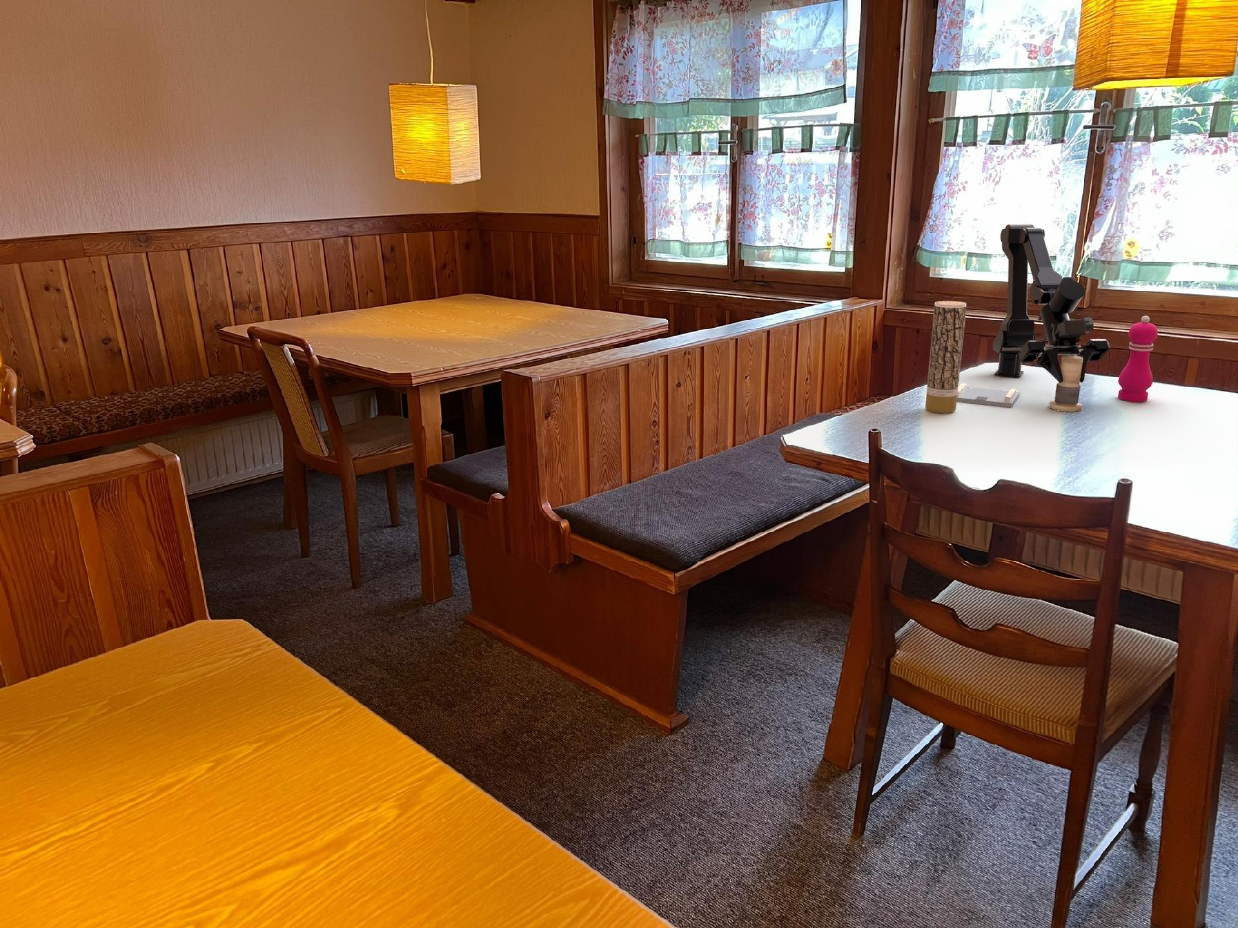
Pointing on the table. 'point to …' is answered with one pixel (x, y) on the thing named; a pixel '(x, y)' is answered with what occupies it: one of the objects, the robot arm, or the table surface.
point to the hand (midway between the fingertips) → (1071, 381)
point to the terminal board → (987, 396)
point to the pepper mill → (1138, 363)
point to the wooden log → (945, 356)
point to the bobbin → (1068, 385)
